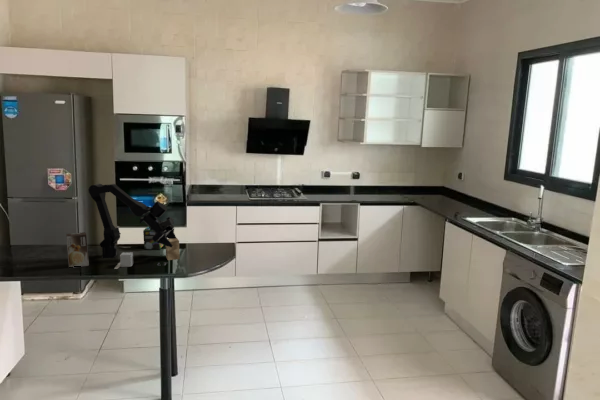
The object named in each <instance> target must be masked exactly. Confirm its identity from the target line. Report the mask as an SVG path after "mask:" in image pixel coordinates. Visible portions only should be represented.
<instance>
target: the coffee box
mask: <svg viewBox="0 0 600 400" xmlns="http://www.w3.org/2000/svg"><path fill="white" fill-rule="evenodd" d="M65 235H66V247H67V248H66V249H67V261H68V268H69V267H73V268H75V267H74V266H81V267H88V266H89V265H90V263H89V251H88V250H89V249H88V235H87V232H73V233H66V234H65Z"/></svg>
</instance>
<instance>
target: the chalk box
mask: <svg viewBox="0 0 600 400" xmlns="http://www.w3.org/2000/svg"><path fill="white" fill-rule="evenodd" d="M150 229H151V228H150V227H149V226H147V227H145V228H144V229H143V230H142V231H143V246H144V247H143V249H144V250H161V249H162V247H164V246H165V245H163V244H160V243H157V241H156V242H154V241H153V240H152V237H153V236H154V235H155V234H156V233H155V232H154V231H153V230H152V231H151V230H150Z"/></svg>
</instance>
